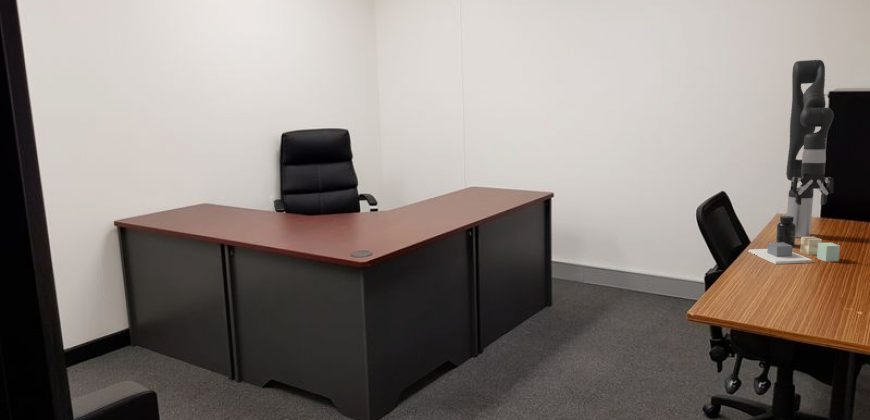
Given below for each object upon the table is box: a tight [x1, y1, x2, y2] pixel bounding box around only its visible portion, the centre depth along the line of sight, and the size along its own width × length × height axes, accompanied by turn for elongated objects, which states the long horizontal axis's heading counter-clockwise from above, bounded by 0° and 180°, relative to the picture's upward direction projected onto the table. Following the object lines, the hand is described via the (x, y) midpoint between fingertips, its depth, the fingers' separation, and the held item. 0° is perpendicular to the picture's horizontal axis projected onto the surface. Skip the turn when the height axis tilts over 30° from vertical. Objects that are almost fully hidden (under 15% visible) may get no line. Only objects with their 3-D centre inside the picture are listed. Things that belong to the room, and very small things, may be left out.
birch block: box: [799, 236, 823, 256], centre depth 241 cm, size 5×5×6 cm
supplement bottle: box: [775, 215, 796, 247], centre depth 253 cm, size 7×7×12 cm
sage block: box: [816, 241, 841, 263], centre depth 231 cm, size 5×5×6 cm
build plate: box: [748, 242, 813, 265], centre depth 236 cm, size 18×14×5 cm
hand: (810, 204), depth 233 cm, fingers open, 8 cm apart
